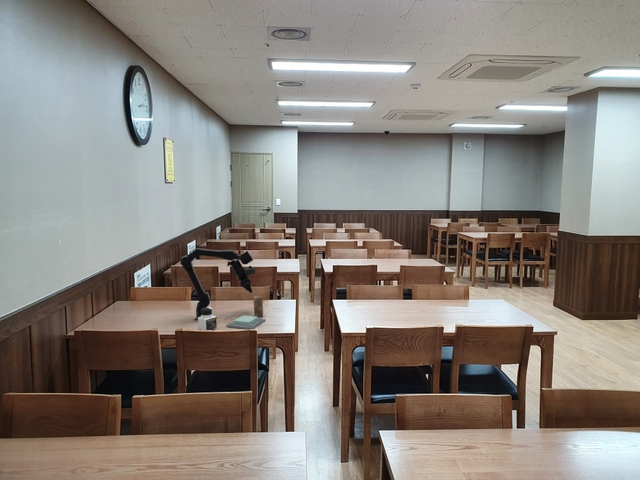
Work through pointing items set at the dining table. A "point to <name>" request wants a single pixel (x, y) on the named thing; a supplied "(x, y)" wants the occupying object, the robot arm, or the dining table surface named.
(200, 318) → the medicine bottle
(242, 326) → the base plate
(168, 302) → the dining table surface
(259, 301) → the walnut pillar
